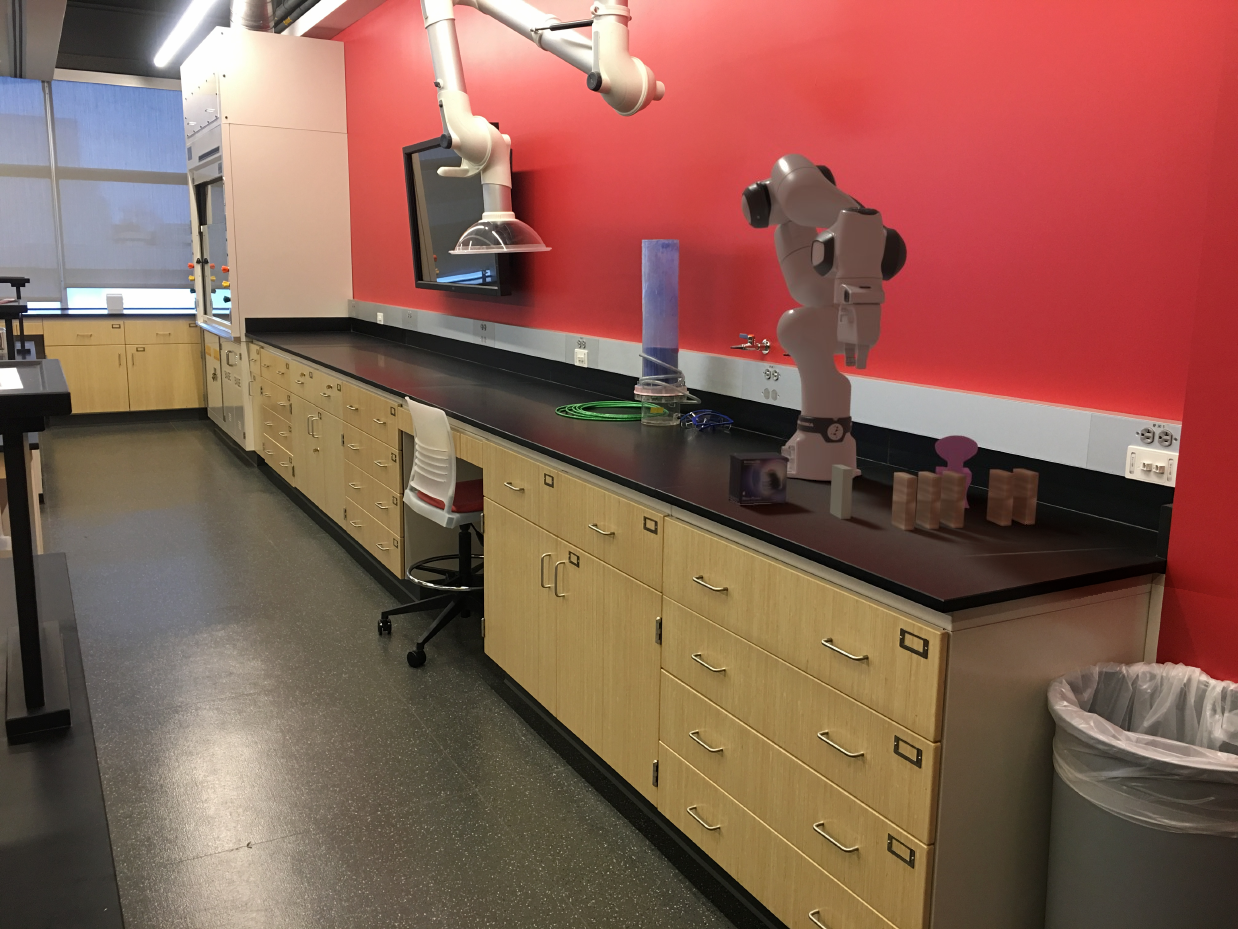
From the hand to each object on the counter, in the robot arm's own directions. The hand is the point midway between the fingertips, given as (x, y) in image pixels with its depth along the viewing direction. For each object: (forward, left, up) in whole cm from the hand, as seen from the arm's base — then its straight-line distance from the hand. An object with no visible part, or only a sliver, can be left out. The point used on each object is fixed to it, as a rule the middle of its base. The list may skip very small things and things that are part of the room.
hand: (855, 367), depth 189 cm
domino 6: (+11, +31, -29) cm, 44 cm away
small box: (-13, -14, -29) cm, 35 cm away
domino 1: (+1, -2, -29) cm, 29 cm away
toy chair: (-6, +26, -29) cm, 39 cm away
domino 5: (+11, +26, -29) cm, 40 cm away
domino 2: (+11, +6, -29) cm, 32 cm away
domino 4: (+11, +16, -29) cm, 35 cm away
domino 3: (+11, +11, -29) cm, 33 cm away
